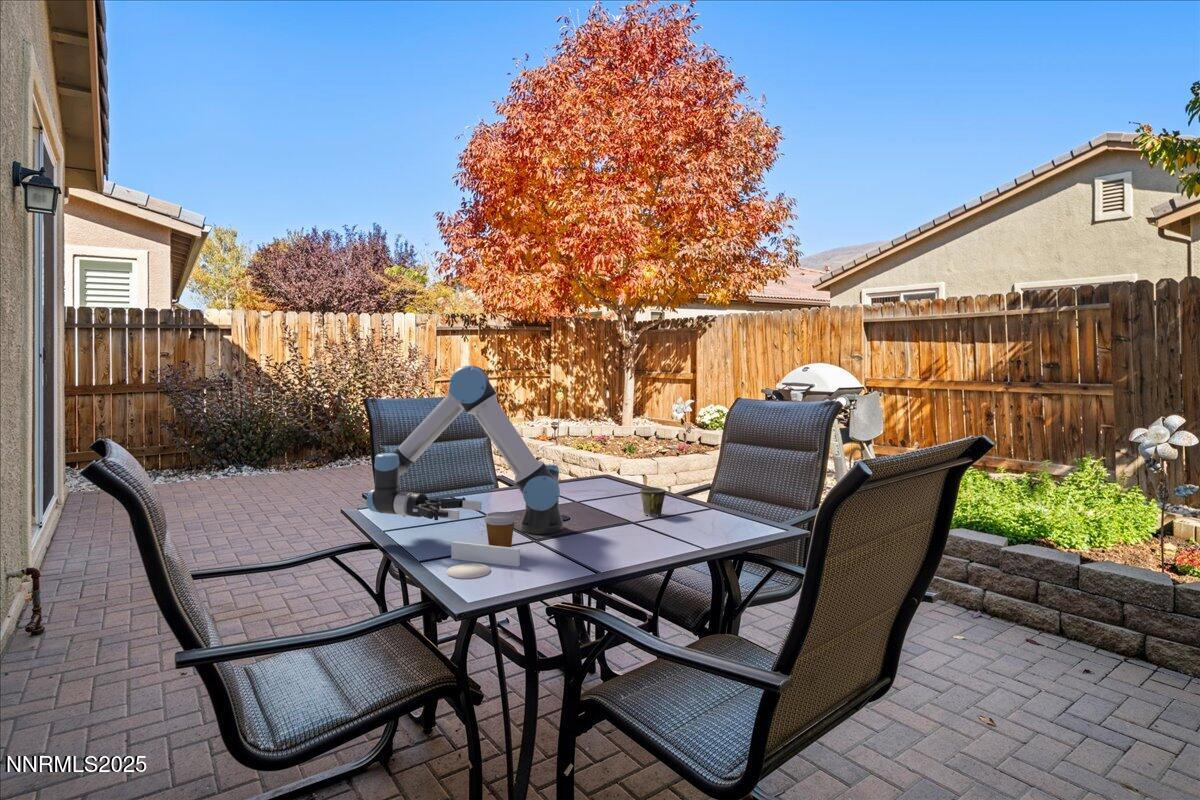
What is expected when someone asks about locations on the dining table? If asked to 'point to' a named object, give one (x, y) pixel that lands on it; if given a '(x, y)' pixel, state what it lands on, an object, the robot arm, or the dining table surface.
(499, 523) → the disposable coffee cup
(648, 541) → the dining table surface
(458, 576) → the mat
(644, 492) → the ceramic cup
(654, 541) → the dining table surface
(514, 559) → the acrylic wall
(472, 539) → the dining table surface
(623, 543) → the dining table surface
